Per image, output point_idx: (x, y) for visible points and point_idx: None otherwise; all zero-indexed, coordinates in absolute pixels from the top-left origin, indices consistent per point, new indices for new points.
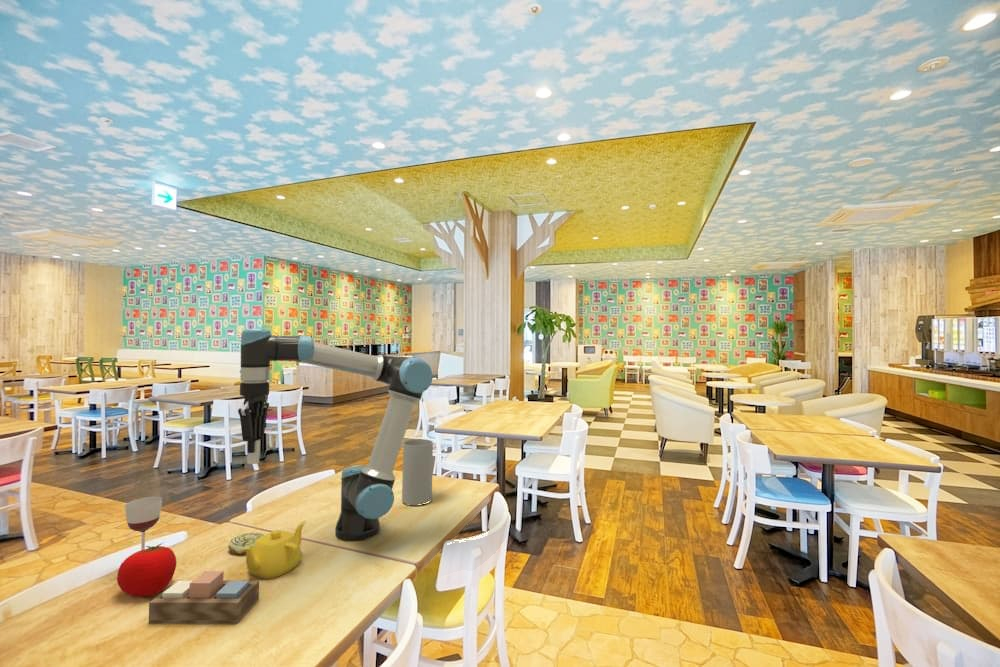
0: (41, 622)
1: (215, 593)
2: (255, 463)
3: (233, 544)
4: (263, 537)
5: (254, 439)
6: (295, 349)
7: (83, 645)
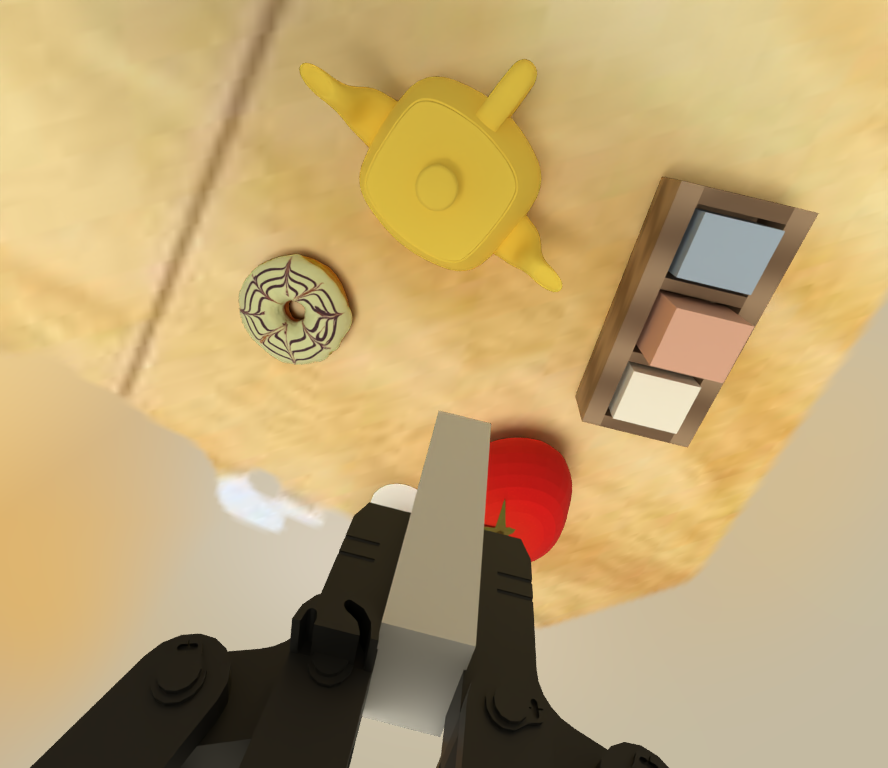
0: (581, 584)
1: (713, 301)
2: (489, 433)
3: (328, 347)
4: (430, 237)
5: (549, 724)
6: None
7: (705, 499)
